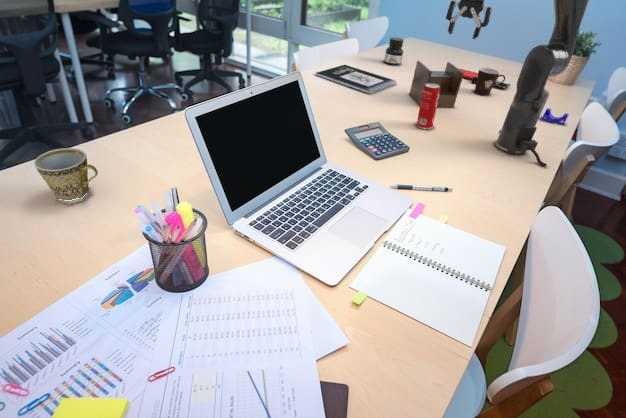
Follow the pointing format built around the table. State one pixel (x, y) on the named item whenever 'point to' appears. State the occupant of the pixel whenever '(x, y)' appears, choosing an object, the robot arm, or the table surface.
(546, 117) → the cable holder
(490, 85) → the coffee mug
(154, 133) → the table surface
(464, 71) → the red board with handle
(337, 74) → the sketchbook
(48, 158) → the ceramic cup
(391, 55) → the ink bottle
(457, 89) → the shelf
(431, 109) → the beverage can
